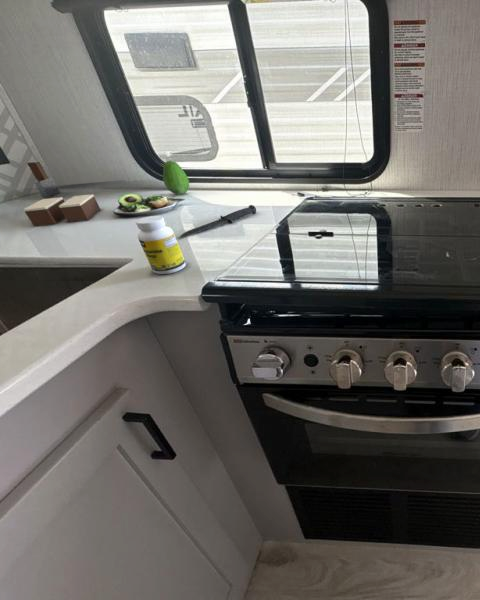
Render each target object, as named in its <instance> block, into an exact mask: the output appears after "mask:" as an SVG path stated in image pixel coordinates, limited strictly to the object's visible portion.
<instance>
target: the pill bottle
mask: <svg viewBox="0 0 480 600" xmlns="http://www.w3.org/2000/svg"><path fill="white" fill-rule="evenodd" d="M135 224H136V226H137V228H138V230H140V231H139V232H138V234H137V239H138V241H139V243H140V246H141V248H142V250H143V253H144V255H145V257H146V260H147V261H148V264H149V265H150V268H151V271H152V272H153V273H154V274H157V275H169V274H174V273H177V272H179V271H181V270H182V269H184V268H185V267H186V264H187V263H186V260H185V257H184V255H183V252H182V250H181V248H180V245H179V242H178V240H177V237H176V235H175V232H174V230H173V229H172V228H171V227H169V226H167V224H166V221H165V219H164V217H163V216H162V215H151V216H150V215H148V216H143V217H141V218H138V219H136V220H135Z"/></svg>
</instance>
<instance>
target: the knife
mask: <svg viewBox="0 0 480 600" xmlns="http://www.w3.org/2000/svg"><path fill="white" fill-rule="evenodd" d="M256 212H257V208H256V207H255V205H253V204H249V205H248V207H244V208H241V209H238V210H235V211H233V212H230V213H228V214H226V215H224V216H223V215H219V216H220V218H218V219H216V220H213V221H210V222H208V223H206V224H203V225H200V226H197V227H195V228H192V229H189V230H187V231H185V232H183V233H182V234H181V235H180V236H179V239H182V238H185V237H188V236H191V235H195V234H198V233H200V232H204V231H206V230H209V229H212V228H215V227H217V226H220V225H223V224H225V223H229V224H233V221H237V220H239V219H242V218H244V217H246V216H249V215H251V214H256Z"/></svg>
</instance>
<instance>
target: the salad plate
mask: <svg viewBox="0 0 480 600" xmlns="http://www.w3.org/2000/svg"><path fill="white" fill-rule="evenodd" d="M183 201H186V198H179V197H178V198H177V197H176V198H175V197H171V196H167V195H165V196H163V194H161V195H158V194H153V195H149V196H148V197H146V198H145V197H143V196H142V195H140V194H137V193H133V192H132V193H131V192H130V193H129V192H128V193H124V194H122V195H121V196H119V198H118V199H117V202H118V206H117V207H116V208H115V209H114V210H113V214H114V215H115V216H118V217H119V218H136V217H137V218H138V217H147V216H150V215H151V216H153V215H157V214H163V213H167V212H170V211H173V210H174V209H175V208H176V205H177V204H179V203H180V202H183Z"/></svg>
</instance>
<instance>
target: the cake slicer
mask: <svg viewBox="0 0 480 600" xmlns="http://www.w3.org/2000/svg"><path fill="white" fill-rule="evenodd" d="M27 164H28V166H29V167H30V168H29V169H30V171H31V173H32V175H33V177H34V178H35V179H36V180H35V181H34V186H36V188H37V190H38V192H39V193H40V195H41V197H42V199H49V198H53V197H54V196H56V195H57V194H59V193H61V192H60V189H59V188H58V185H57V184H56V182H55V180H54V178H53V177H52V176H48V174H47V172H46V171H45V169H44V168H43V167H42V165H41V164H40V162H39V161H35V162H29V163H27Z"/></svg>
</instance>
